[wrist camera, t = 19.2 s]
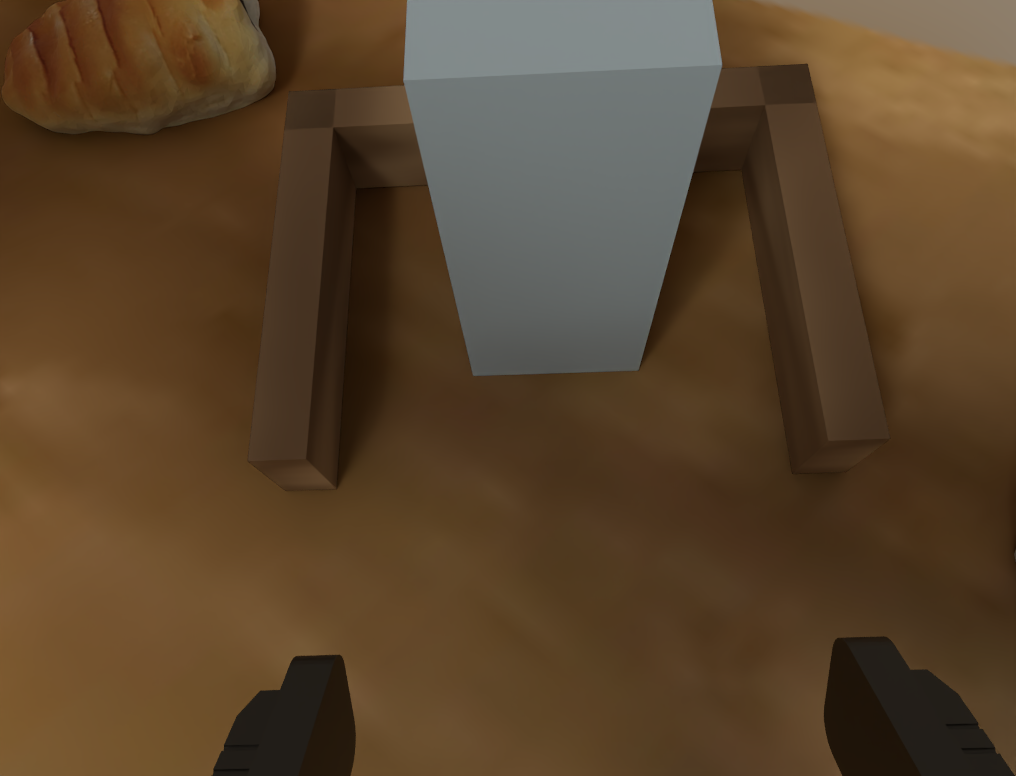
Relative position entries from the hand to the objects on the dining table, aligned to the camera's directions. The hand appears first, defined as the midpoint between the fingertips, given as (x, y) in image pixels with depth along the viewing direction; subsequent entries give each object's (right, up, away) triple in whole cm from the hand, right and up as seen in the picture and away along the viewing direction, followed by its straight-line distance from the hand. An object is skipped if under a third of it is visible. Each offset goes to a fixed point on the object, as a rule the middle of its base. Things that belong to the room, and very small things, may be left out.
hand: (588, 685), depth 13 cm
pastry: (-14, +17, +16) cm, 27 cm away
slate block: (0, +8, +11) cm, 14 cm away
